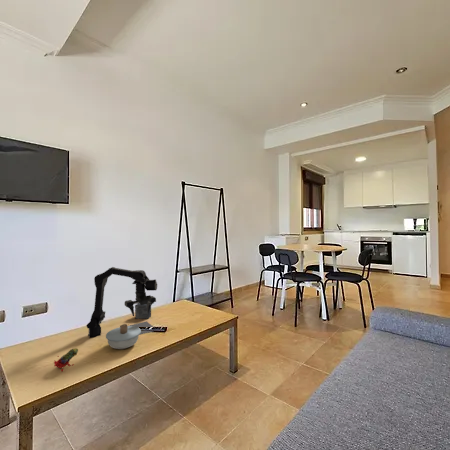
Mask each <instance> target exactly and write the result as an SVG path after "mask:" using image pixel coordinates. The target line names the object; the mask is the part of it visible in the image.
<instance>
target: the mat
mask: <svg viewBox="0 0 450 450" xmlns="http://www.w3.org/2000/svg"><path fill="white" fill-rule="evenodd" d="M128 326H135V327H154V326H153V325H152V324H151V323H150V322H148V321H143V322H138V323H134V324H130V325H128ZM151 332H153V331H141V333H140V335H139V336H141V335H145V334H148V333H151Z"/></svg>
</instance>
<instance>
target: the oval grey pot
mask: <svg viewBox="0 0 450 450" xmlns="http://www.w3.org/2000/svg"><path fill="white" fill-rule="evenodd" d="M139 336H140V335H138V336H137V337H135V338H133V339H130V340H126V341H110V340H107V344H108V345H109V347H110V348H112V349H115V350H116V349H117V350H124V349H127V348H130V347H132V346H134V345H135V344H136V343H137V341H138V340H139Z"/></svg>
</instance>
